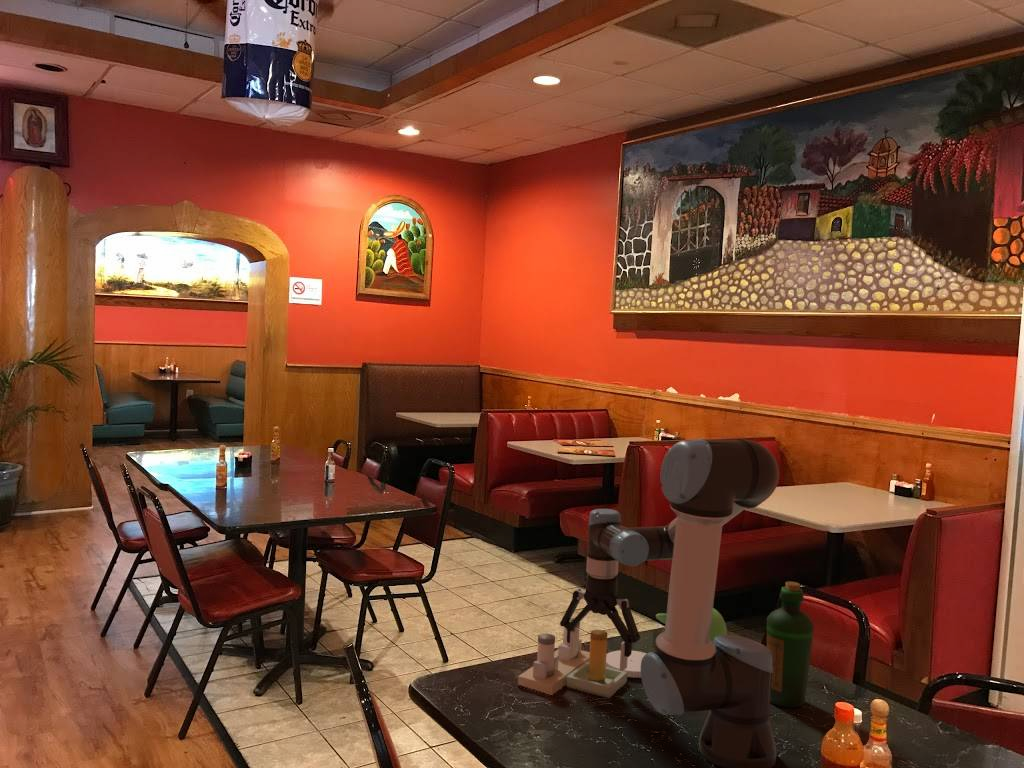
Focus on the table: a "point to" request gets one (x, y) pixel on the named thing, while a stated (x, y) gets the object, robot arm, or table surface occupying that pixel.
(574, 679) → the tray
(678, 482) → the robot arm
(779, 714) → the table surface
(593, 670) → the cylinder
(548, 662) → the block
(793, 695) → the bottle
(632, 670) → the plastic lid
